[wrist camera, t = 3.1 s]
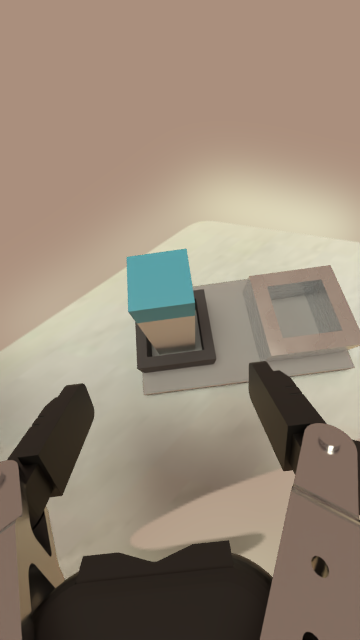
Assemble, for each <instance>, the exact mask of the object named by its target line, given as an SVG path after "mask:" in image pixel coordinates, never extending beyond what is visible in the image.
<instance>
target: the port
mask: <svg viewBox="0 0 360 640" xmlns="http://www.w3.org/2000/svg"><path fill="white" fill-rule="evenodd" d="M242 293H243V297H244V300H245V304H246V308H247V312H248V316H249V320H250V324H251V328H252V332H253V336H254V339H255V343H256V347H257V351H258V355H259V359H260V361H266V362H271V361H278V360H286V359H294V358H302V357H309V356H317V355H325V354H332V353H340V352H344V351H347V350H350V349H352V348H355V347H358V346H360V330H359V327H358V325H357V323H356V321H355V319H354V316H353V314H352V312H351V310H350V308H349V305H348V303H347V301H346V299H345V296H344V294H343V292H342V290H341V288H340V285H339V283H338V281H337V279H336V277H335V274H334V272H333V270H332V268H331V266H330V265H328V266H321V267H314V268H307V269H299V270H292V271H285V272H277V273H270V274H263V275H255V276H249V278H248V280H247V283H246V285H245V287H244V290H243V292H242ZM303 295H305V296H306V299H307V302H308V304H309V307H310V310H311V312H312V315H313V318H314V320H315V323H316V326H317V328H318V331H319V334H311V335H304V336H296V337H288V338H283V337H282V334H281V331H280V327H279V324H278V321H277V318H276V314H275V311H274V308H273V305H272V301H271V300H274V299H281V298H288V297H296V296H303Z"/></svg>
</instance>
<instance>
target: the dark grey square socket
mask: <svg viewBox="0 0 360 640" xmlns="http://www.w3.org/2000/svg"><path fill="white" fill-rule="evenodd" d="M193 293H194V300H195V310H196V313H197V320H198V326H199V332H200V339H201V345H202V350H199V351H191V352H183V353H176V354H168V355H161V356H153V357H152V344H151V342H150V341H149V340H148V338H147V337H146V335H145V334H144V333H143V331H142V330H141V328H140V327H139V326H138V324H137V323H136V322H135V324H136V347H137V369H138V370H140V371H142V372H143V373H149V372H157V371H165V370H172V369H180V368H188V367H195V366H203V365H211V364H214V363H215V361H216V359H217V358H216V353H215V347H214V342H213V336H212V331H211V325H210V320H209V314H208V309H207V303H206V298H205V292H204V289H200V290H193Z"/></svg>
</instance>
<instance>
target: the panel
mask: <svg viewBox="0 0 360 640" xmlns="http://www.w3.org/2000/svg"><path fill="white" fill-rule="evenodd" d="M247 280H248V279H245V280H238V281H231V282H223V283H216V284H209V285H201V286H194V287H193V290H200V289H204V292H205V298H206V303H207V309H208V314H209V320H210V325H211V331H212V336H213V342H214V347H215V353H216V358H217V359H216V361H215V363H214V364H211V365H203V366H195V367H188V368H180V369H172V370H165V371H157V372H149V373H143V372H142V373H143V392H144V395H150V394H158V393H166V392H173V391H181V390H189V389H197V388H205V387H212V386H220V385H228V384H236V383H244V382H249V363H252V362H260V359H259V355H258V351H257V347H256V343H255V339H254V336H253V332H252V328H251V324H250V320H249V316H248V312H247V308H246V304H245V300H244V297H243V293H242V292H243V290H244V287H245V285H246V283H247ZM271 301H272V305H273V308H274V311H275V314H276V318H277V321H278V324H279V327H280V331H281V334H282V337H283V338H288V337H296V336H304V335H311V334H319V331H318V328H317V326H316V323H315V320H314V318H313V315H312V312H311V310H310V307H309V304H308V302H307V299H306V296H305V295H303V296H296V297H288V298H281V299H274V300H271ZM199 350H202V345H201V339H200V332H199V326H198V320H197V313H196V310H195V350H191V351H199ZM191 351H184V352H191ZM176 353H183V352H176ZM176 353H168V354H176ZM168 354H161V355H168ZM161 355H159V353H158V352H157V351H156V349H155V348H154V347H153V345H152V357H153V356H161ZM267 363H268V364H269V365H270V367H271V368H272V370H273V371H277V370H280V371H282V372H283V373H285V374H286V375H288V376H289V377H290V376H298V375H306V374H314V373H322V372H329V371H337V370H345V369H351V368H355V367H354V364H353V362H352V360H351V357H350V355H349V352H348V350H347V351H344V352H340V353H332V354H325V355H317V356H309V357H302V358H294V359H286V360H278V361H271V362H267Z"/></svg>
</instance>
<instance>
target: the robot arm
mask: <svg viewBox="0 0 360 640" xmlns="http://www.w3.org/2000/svg"><path fill="white" fill-rule="evenodd" d="M249 394H250V398H251V401H252V403H253V406H254V408H255V410H256V412H257V414H258V417H259V419H260V421H261V423H262V425H263V428H264V430H265V432H266V434H267V436H268V439H269V441H270V443H271V445H272V447H273V450H274V452H275V454H276V456H277V458H278V460H279V463H280V465H281V467H282V469H283V471H290V470H293V471H294V473H295V480H294V484H293V486H292V490H291V494H290V499H289V504H288V508H287V513H286V518H285V522H284V527H283V532H282V537H281V542H280V546H279V551H278V556H277V561H276V565H275V570H274V575H273V577H272V576H271V575H270V574H269V573H267V572H266V571H265V570H264V569H263V568H261V567H260V566H259V565H257V564H256V563H254V562H252V561H251V560H249V559H247V558H245V557H243V556H240V555H237V554H234V553H231V549H230V544H229V540H228V541H219V542H210V543H201V544H192V545H190V546H188V547H186V548H184V549H182V550H180V551H178V552H176V553H174V554H172V555H170V556H168V557H166V558H164V559H162V560H160V561H157V562H150V561H147V560H143V559H139V558H136V557H132V556H129V555H125V554H122V553H109V554H100V555H91V556H83V558H82V562H81V566H80V569H79V572H77V573H75V574H74V575H72V576H71V577H69V578H68V579H66V580H65V579H64V576H63V574H62V571H61V569H60V566H59V563H58V560H57V555H56V550H55V545H54V539H53V534H52V529H51V524H50V518H49V513H48V509H47V507H46V504H47V502H48V500H49V498H50V497H56V496H62V495H63V493H64V490H65V488H66V485H67V483H68V480H69V478H70V476H71V473H72V471H73V468H74V466H75V463H76V461H77V458H78V456H79V454H80V451H81V449H82V446H83V444H84V441H85V439H86V437H87V434H88V432H89V429H90V427H91V424H92V422H93V419H94V407H93V404H92V401H91V399H90V396H89V394H88V391H87V388H86V386H85V385H84V384H74V385H67V386H65V387H64V389H63V390H62V392H61V393H60V395H59V396H58V397H57V398H54V399H53V400H52V401H51V402H50V403H49V404H47V405H46V406H45V407H44V409H43V410H42V412H41V413H40V414H39V416H38V418H37V419H36V420H35V421H34V423H33V424H32V427H30V428H29V430H28V431H27V433H26V434H25V435H24V437H23V438H22V440H21V441H20V443H19V444H18V445H17V447H16V448H15V450H14V451H13V452H12V454H11V455H10V457H9V458H8V459H7V461H3V462H0V640H360V520H359V515H360V441H355V440H352V439H351V438H350V437H349V436H348V435H347V434H346V433H344V432H343V431H341V430H340V429H338V428H336V427H334V426H331V425H328V424H326V423H325V421H324V420H323V419H322V417H321V416H320V415H319V414H318V412H317V411H316V410H315V409H314V407H313V406H312V405H311V403H310V402H309V401H308V400H307V398H306V397H305V396H304V394H302V392H301V391H300V389H299V388H298V387H296V384H295V383H294V382H293V380H292V379H291V378H290V377H289V376H288V375H286V374H285V373H283V372H282V371H280V370H277V371H273V370H272V368H271V367H270V365H269V364H268V363H267V362H266V361H260V362H252V363H249Z"/></svg>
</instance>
